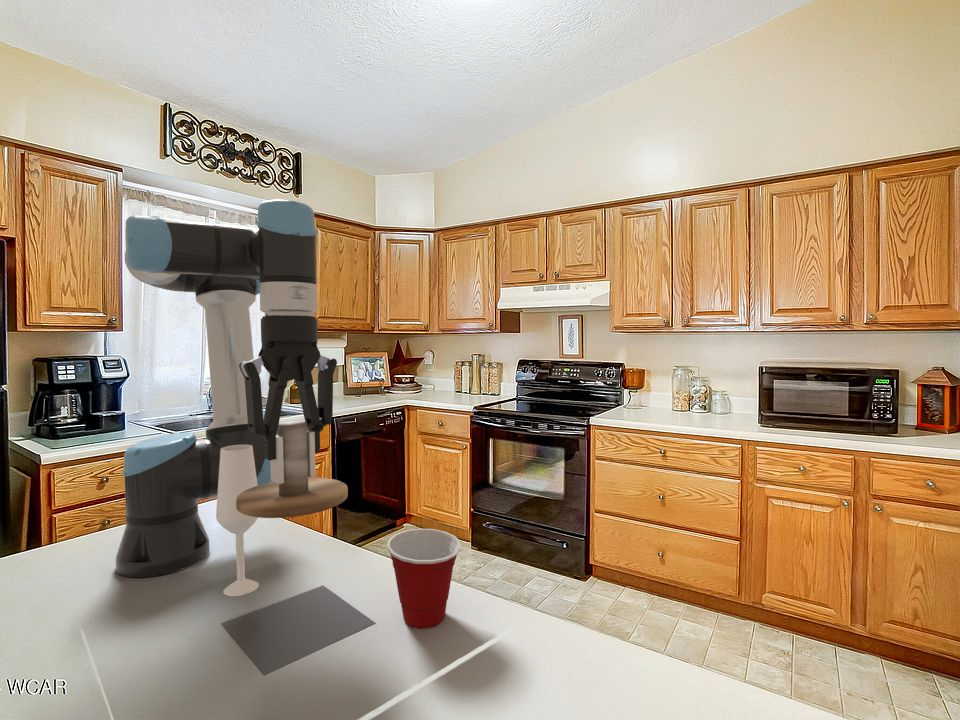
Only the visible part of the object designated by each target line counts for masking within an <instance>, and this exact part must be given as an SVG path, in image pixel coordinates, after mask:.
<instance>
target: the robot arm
mask: <svg viewBox="0 0 960 720" xmlns="http://www.w3.org/2000/svg"><path fill="white" fill-rule="evenodd" d="M315 218H316V217H315V211H314V210H313V208H312V207H311V206H309V205H308V204H306V203H303V202H299V201H296V200H295V201H294V200H287V199H271V200H270V199H269V200H264V201H262V202H261V203H260V204H259V205H258V207H257V217H256V219H257V220H256V225H257V227H256V228H255V227H246V226H238V225H228V224H218V223H206V222H200V221H189V220H181V219H174V218H173V219H171V218H165V217H160V216H156V215H149V216H144V215H143V216H142V215H130V216H128V217H127V218H126V219H125V227H124V228H125V230H124V231H125V235H124V237H125V239H124V241H125V252H124V262H125V266H126V269H127V270H128V272H129V273H130V274H131V275H132V276H133V277H134V278H136V279H137V280H138V281H140V282H141V283H144V284H147V285H149V286H152V287H155V288H158V289H163V290H167V291H171V292H172V291H173V292H184V293H194V294H195V301H196V303H197V304H198V305H200V306H201V307H202V308H204V313H205V314H204V316H205V328H206V339H207V351H208V352H207V353H208V355H207V356H208V366H209V379H210V391H211V403H212V405H211V407H212V417H213V420H212V422H210V424H209V425H208V426H207V427H206V428H205V437H206V438H198V439H197V436H196V435H195V433H194V432H189V431H188V432H186V431H185V432H184V431H183V432H175V433H168V434H164V435H158V436H155V437H151V438H148V439H144V440H140V441H138V442H136V443H134V444H132V445H131V446H129V447H128V448H127V449H126V451H124V454H123V471H122V476H123V477H124V506H125V507H124V508H125V509H124V511H125V528H124V531H123V533H122V538H121V540H120V544H119V547H118V549H117V553H116V556H115V569H116V573H118V574H119V575H120V576H123V577H128V578H129V577H130V578H147V577H150V578H151V577H157V576H161V575H167V574H171V573H175V572H178V571H181V570H184V569H187V568H189V567H191V566H193V565H197V564H198V563H199V562H201V561H203V560H204V559H205V558H206V557H208V555H209V554H210V551H211V550H210V549H211V547H210V538H209V536H208V534H207V532H206V529H205V526H204V524H203V522H202V520H201V517H200V515H199V508H198V507H199V505H198V504H199V502H198V501H199V500H203V499H210V498H217V494H218V480H219V465H220V450H221V448H223V447H227V446H232V445H252V447H253V454H254V462H255V469H256V477H257V484H258V485H261V484H265V483H269V482H275V483H277V484H282V483H284V461H283V437H282V436H279V435H277V431H278V426H279V423H280V420H281V419H280V418H281V413H282V408H283V402H284V396H285V390H286V388H287V387H288V383H289V382H290V381H293V380H294V383H295V385H296V387H297V391H298V396H299V400H300V401H299V402H300V405H301V408H302V413H303V419H304V421H305V422H307V447H308V478H316V453H318V452H320V449H321V432H322V431H323V430H324V429H325V426H327V425H331V424H332V423H333V414H334V413H333V411H334V410H333V407H334V406H333V404H334V373H335V370H336V367H337V365H338V361H337V359H336V358H330V357H327V356H324V355H321V352H320V349H319V348H318V339H319V338H318V337H319V335H318V333H319V332H318V329H319V328H318V327H319V326H318V318H317V317H316V316H314V315H313V314H314V313H316V312H317V311H318V300H317V299H318V298H317V297H318V296H317V295H318V294H317V245H316V244H317V243H316V242H317V239H316V237H317V236H316V235H317V229H316V219H315ZM257 295H259V310H260V311H261V313H264V316H261V318H260V341H261V348H260V351H259V353H258V355H257V357H254V347H253V345H254V344H253V336H252V325H251V315H250V314H251V313H250V307H251V306H252V305H253V304H254V303H255V302H256V300H257V298H256V297H257ZM262 366H263V367H264V369H265V370H266V371H267V373H269V376H268V377H269V378H268V390H267V391H268V393H267V396H266V397H267V398H266V403H265V410H264V409H263V398H262V397H263V395H262V394H263V393H262V382H261V377H260V374H261V373H262ZM315 366H316V367H317V369H318V374H317V399H316V395H315V391H314V387H313V385H314V379H313V374H312V372H313V370H314V368H315ZM263 410H264V412H263Z"/></svg>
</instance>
